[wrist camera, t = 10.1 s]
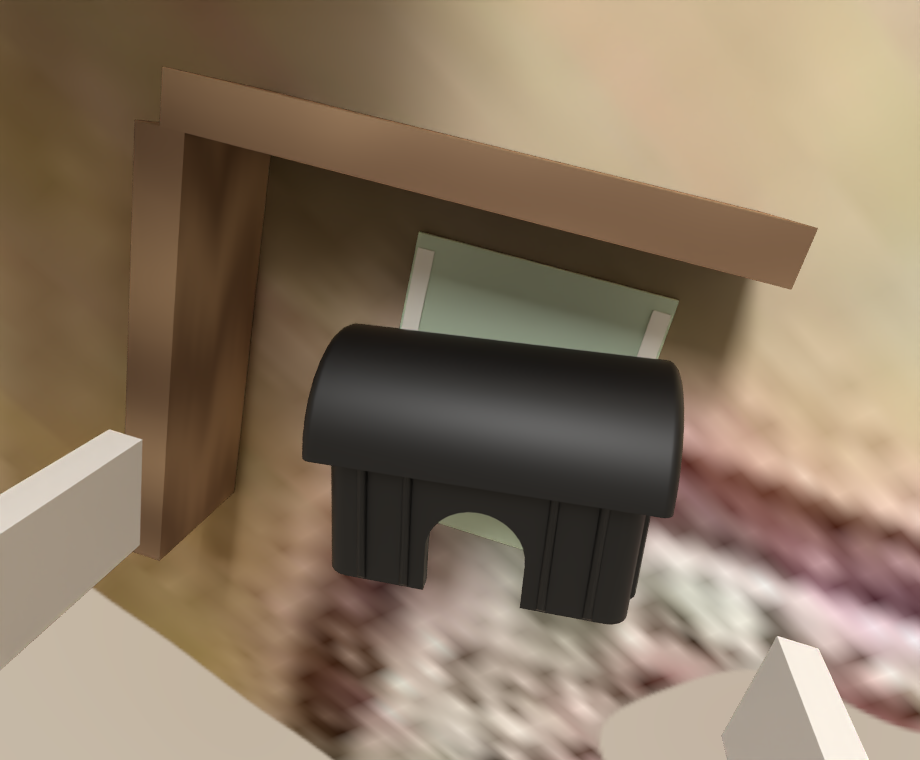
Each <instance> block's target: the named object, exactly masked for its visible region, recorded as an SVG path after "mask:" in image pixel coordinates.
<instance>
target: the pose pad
mask: <svg viewBox="0 0 920 760" xmlns="http://www.w3.org/2000/svg"><path fill="white" fill-rule="evenodd" d="M678 303H679V300H677V299H673V298H670V297H666V296H662V295H658V294H654V293H651V292H647V291H643V290H639V289H636V288H632V287H628V286H624V285H621V284H617V283H613V282H609V281H605V280H602V279H598V278H594V277H590V276H587V275H583V274H579V273H575V272H572V271H568V270H564V269H560V268H556V267H553V266H549V265H545V264H541V263H538V262H534V261H530V260H526V259H523V258H519V257H515V256H511V255H507V254H504V253H500V252H496V251H492V250H489V249H485V248H481V247H477V246H474V245H470V244H466V243H462V242H458V241H455V240H451V239H447V238H443V237H440V236H436V235H432V234H428V233H425V232H421V231H420V232H419V233H418V238H417V243H416V248H415V253H414V258H413V263H412V268H411V273H410V278H409V283H408V288H407V293H406V298H405V303H404V308H403V313H402V318H401V323H400V328H399V329H407V330H416V331H424V332H432V333H441V334H449V335H458V336H466V337H475V338H483V339H491V340H500V341H508V342H517V343H525V344H534V345H542V346H551V347H559V348H567V349H576V350H584V351H593V352H601V353H610V354H618V355H626V356H635V357H643V358H652V359H658V358H659V355H660V352H661V350H662V347H663V344H664V341H665V339H666V336H667V333H668V331H669V328H670V325H671V322H672V320H673V317H674V314H675V312H676V309H677V306H678ZM438 523H439V524H442V525H446V526H449V527H452V528H455V529H458V530H461V531H465V532H468V533H471V534H474V535H477V536H480V537H484V538H487V539H490V540H493V541H496V542H499V543H502V544H506V545H509V546H512V547H515V548H518V549H521V550H523V548H522V545H521V543H520V541H519V539H518V538H517V537H516V535H515V534H514V532H513V531H511V530H510V529H509V528H508V527H507V526H506V525H505V524H503V523H502V522H500V521H499V520H497V519H495V518H492V517H490V516H488V515H484V514H480V513H471V512H465V513H457V514H454V515H451V516H448V517H446V518H444V519H442V520H441V521H440V522H438Z"/></svg>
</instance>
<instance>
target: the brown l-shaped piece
mask: <svg viewBox="0 0 920 760" xmlns="http://www.w3.org/2000/svg"><path fill="white" fill-rule="evenodd" d="M271 155H273V156H277V157H281V158H285V159H288V160H292V161H296V162H300V163H304V164H308V165H312V166H315V167H319V168H323V169H327V170H331V171H335V172H339V173H343V174H346V175H350V176H354V177H358V178H362V179H366V180H370V181H373V182H377V183H381V184H385V185H389V186H393V187H397V188H401V189H404V190H408V191H412V192H416V193H420V194H424V195H428V196H431V197H435V198H439V199H443V200H447V201H451V202H455V203H459V204H462V205H466V206H470V207H474V208H478V209H482V210H486V211H489V212H493V213H497V214H501V215H505V216H509V217H513V218H517V219H520V220H524V221H528V222H532V223H536V224H540V225H544V226H548V227H551V228H555V229H559V230H563V231H567V232H571V233H575V234H578V235H582V236H586V237H590V238H594V239H598V240H602V241H606V242H609V243H613V244H617V245H621V246H625V247H629V248H633V249H636V250H640V251H644V252H648V253H652V254H656V255H660V256H664V257H667V258H671V259H675V260H679V261H683V262H687V263H691V264H694V265H698V266H702V267H706V268H710V269H714V270H718V271H722V272H725V273H729V274H733V275H737V276H741V277H745V278H749V279H752V280H756V281H760V282H764V283H768V284H772V285H776V286H780V287H783V288H787V289H792V287H793V285H794V282H795V280H796V278H797V276H798V273H799V271H800V269H801V266H802V264H803V262H804V259H805V257H806V255H807V253H808V250H809V248H810V246H811V243H812V241H813V239H814V236H815V234H816V232H817V229H818V228H815V227H812V226H808V225H805V224H801V223H798V222H794V221H791V220H787V219H784V218H781V217H777V216H774V215H770V214H767V213H763V212H759V211H755V210H751V209H747V208H743V207H739V206H735V205H731V204H727V203H723V202H719V201H715V200H711V199H707V198H703V197H698V196H694V195H690V194H686V193H682V192H678V191H674V190H670V189H666V188H662V187H658V186H654V185H650V184H646V183H642V182H638V181H634V180H630V179H626V178H621V177H617V176H613V175H609V174H605V173H601V172H597V171H593V170H589V169H585V168H581V167H577V166H573V165H569V164H565V163H561V162H557V161H553V160H549V159H544V158H540V157H536V156H532V155H528V154H524V153H520V152H516V151H512V150H508V149H504V148H500V147H496V146H492V145H488V144H484V143H480V142H476V141H472V140H468V139H463V138H459V137H455V136H451V135H447V134H443V133H439V132H435V131H431V130H427V129H423V128H419V127H415V126H411V125H407V124H403V123H399V122H395V121H391V120H386V119H382V118H378V117H374V116H370V115H366V114H362V113H358V112H354V111H350V110H346V109H342V108H338V107H334V106H330V105H326V104H322V103H318V102H314V101H310V100H305V99H301V98H297V97H293V96H289V95H285V94H281V93H277V92H273V91H269V90H265V89H261V88H257V87H252V86H248V85H244V84H239V83H235V82H230V81H226V80H221V79H217V78H212V77H208V76H204V75H199V74H195V73H190V72H186V71H181V70H177V69H172V68H168V67H164V66H162V83H161V105H160V122H153V121H142V120H135V128H134V160H133V192H132V225H131V257H130V289H129V321H128V354H127V386H126V418H125V434H126V435H129V436H132V437H136V438H139V439H142V477H141V518H140V545H139V546H138V547H137V548H136V549H135V550H134V551H133V552H135V553H138V554H141V555H144V556H147V557H150V558H152V559H155V560H158V561H160V560H161V559H162V558H163V557H164V556H165V555H166V554H167V553H168V552H170V551H171V550H172V549H173V548H174V547H175V546H176V545H177V544H178V543H179V542H180V541H181V540H183V539H184V538H185V537H186V536H187V535H188V534H189V533H190V532H191V531H192V530H193V529H195V528H196V527H197V526H198V525H199V524H200V523H201V522H202V521H203V520H204V519H205V518H206V517H208V516H209V515H210V514H211V513H212V512H213V511H214V510H215V509H216V508H217V507H218V506H219V505H221V504H222V503H223V502H224V501H225V500H226V499H227V498H228V497H229V496H230V495H231V494H233V493H234V489H235V480H236V471H237V461H238V452H239V443H240V434H241V424H242V415H243V406H244V397H245V387H246V378H247V369H248V360H249V350H250V341H251V332H252V322H253V313H254V304H255V295H256V285H257V276H258V267H259V258H260V248H261V239H262V230H263V221H264V211H265V202H266V193H267V184H268V174H269V165H270V156H271Z"/></svg>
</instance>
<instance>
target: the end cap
mask: <svg viewBox="0 0 920 760" xmlns="http://www.w3.org/2000/svg"><path fill="white" fill-rule="evenodd" d="M683 433H684V398H683V387H682V381H681V377H680V374H679V370H678V369H677V367H676V366H675V365H674V363H672V362H671V361H668V360H660V359H652V358H643V357H635V356H626V355H618V354H610V353H601V352H593V351H584V350H576V349H567V348H559V347H551V346H542V345H534V344H525V343H517V342H508V341H500V340H491V339H483V338H475V337H466V336H458V335H449V334H441V333H432V332H424V331H416V330H407V329H399V328H390V327H382V326H373V325H365V324H352V325H349V326H347V327H344V328H343V329H342V330H341V331H340V332H339V333H338V334H337V335H336V336H335V337H334V338H333V339H332V341H331V342H330V344H329V345H328V347H327V349H326V351H325V353H324V355H323V357H322V359H321V361H320V363H319V366H318V369H317V371H316V374H315V377H314V379H313V383H312V387H311V391H310V394H309V398H308V403H307V409H306V414H305V421H304V430H303V446H302V459H303V460H305V461H307V462H313V463H319V464H326V465H331V477H332V567H333V568H334V570H335V571H337V572H338V573H340V574H343V575H348V576H353V577H358V578H363V579H369V580H374V581H379V582H385V583H390V584H395V585H401V586H406V587H411V588H417V589H422V590H423V588H424V585H425V583H426V578H427V560H428V543H429V535H430V531H431V530H432V529H433V527H434V526H435V525H436V524H437V523H438V522H440V521H441V520H442V519H444V518H446V517H448V516H451V515H454V514H457V513H465V512H471V513H480V514H484V515H488V516H490V517H492V518H495V519H497V520H499V521H500V522H502V523H503V524H505V525H506V526H507V527H508V528H509V529H510V530H511V531H513V532H514V534H515V535H516V537H517V538H518V539H519V541H520V543H521V545H522V548H523V551H524V555H525V569H524V578H523V586H522V594H521V603H520V608H523V609H528V610H534V611H539V612H544V613H550V614H555V615H560V616H566V617H571V618H576V619H581V620H587V621H592V622H597V623H603V624H618V623H620V622H622V621H624V619H625V618H626V615H627V610H628V605H629V600H630V599H631V598H633V597H634V595H635V593H636V588H637V583H638V578H639V572H640V567H641V562H642V557H643V552H644V547H645V542H646V537H647V532H648V527H649V522H650V517H651V516H654V517H660V518H670V517H672V516H673V514H674V508H675V503H676V498H677V492H678V485H679V478H680V470H681V460H682V450H683Z"/></svg>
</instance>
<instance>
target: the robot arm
mask: <svg viewBox="0 0 920 760" xmlns="http://www.w3.org/2000/svg"><path fill="white" fill-rule="evenodd" d="M141 477H142V439H139V438H136V437H132V436H129V435H126V434H123V433H119V432H116V431H113V430H110V429H109V430H107V431H105V432H104V433H102V434H100V435H99V436H97V437H95V438H94V439H92V440H90V441H89V442H87V443H85V444H84V445H82V446H80V447H79V448H77V449H75V450H74V451H72V452H70V453H68V454H67V455H65V456H63V457H62V458H60V459H58V460H57V461H55V462H53V463H52V464H50V465H48V466H47V467H45V468H43V469H42V470H40V471H38V472H37V473H35V474H33V475H32V476H30V477H28V478H27V479H25V480H23V481H22V482H20V483H18V484H17V485H15V486H13V487H12V488H10V489H8V490H6V491H5V492H3V493H1V494H0V670H1V669H2V668H3V667H4V666H5V665H6V664H8V663H9V662H10V661H11V660H12V659H13V658H14V657H15V656H16V655H18V653H20V652H21V651H22V650H23V649H24V648H25V647H26V646H27V645H29V644H30V643H31V642H32V641H33V640H34V639H35V638H37V636H39V635H40V634H41V633H42V632H43V631H44V630H45V629H47V628H48V627H49V626H50V625H51V624H52V623H53V622H54V621H56V620H57V619H58V618H59V617H60V616H61V615H62V614H63V613H64V612H65V611H67V610H68V609H69V608H70V607H71V606H72V605H73V604H74V603H76V601H78V600H79V599H80V598H81V597H82V596H83V595H84V594H86V593H87V592H88V591H89V590H90V589H91V588H92V587H94V586H95V585H96V584H97V583H98V582H99V581H100V580H101V579H102V578H104V577H105V576H106V575H107V574H108V573H109V572H110V571H111V570H112V569H114V568H115V567H116V566H117V565H118V564H119V563H120V562H121V561H123V560H124V559H125V558H126V557H127V556H128V555H129V554H130V553H131V552H133V551H134V550H135V549H136V548H137V547H138V546H139V545H140V518H141ZM722 739H723V744H724V748H725V752H726V757H727V760H869V759H868V756H867V755H866V752H865V750H864V748H863V746H862V743H861V741H860V739H859V737H858V735H857V732H856V730H855V728H854V726H853V724H852V722H851V719H850V717H849V715H848V713H847V711H846V708H845V706H844V704H843V702H842V699H841V697H840V695H839V693H838V691H837V688H836V686H835V684H834V682H833V680H832V677H831V675H830V673H829V671H828V669H827V666H826V664H825V662H824V660H823V658H822V655H821V653H820V651H819V649H818V648H814V647H811V646H808V645H805V644H802V643H798V642H795V641H792V640H789V639H785V638H782V637H779V636H777V637H776V639H775V641H774V643H773V644H772V646H771V648H770V650H769V652H768V653H767V655H766V657H765V659H764V660H763V662H762V664H761V666H760V668H759V669H758V671H757V673H756V675H755V676H754V679H753V680H752V682H751V684H750V686H749V687H748V689H747V691H746V693H745V694H744V696H743V698H742V700H741V702H740V703H739V705H738V707H737V709H736V710H735V712H734V714H733V716H732V718H731V719H730V721H729V723H728V725H727V726H726V728H725V730H724V732H723V734H722Z"/></svg>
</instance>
